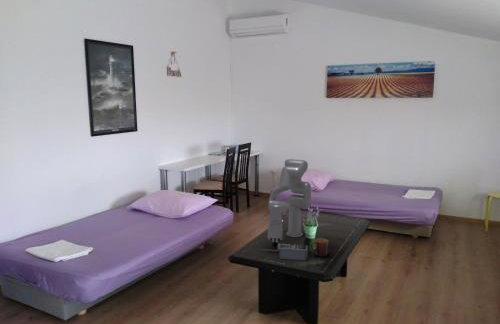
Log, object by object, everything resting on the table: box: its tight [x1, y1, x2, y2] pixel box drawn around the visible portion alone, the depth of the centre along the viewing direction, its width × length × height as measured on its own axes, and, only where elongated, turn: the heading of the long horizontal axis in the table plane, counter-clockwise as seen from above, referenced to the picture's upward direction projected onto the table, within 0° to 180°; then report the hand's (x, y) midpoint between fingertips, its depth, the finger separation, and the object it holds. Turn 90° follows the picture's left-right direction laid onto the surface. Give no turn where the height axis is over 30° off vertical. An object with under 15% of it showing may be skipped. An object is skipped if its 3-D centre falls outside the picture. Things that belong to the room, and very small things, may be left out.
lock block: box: [289, 244, 299, 249], centre depth 266 cm, size 8×6×6 cm
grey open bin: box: [278, 243, 308, 261], centre depth 265 cm, size 12×18×7 cm, turn 80°
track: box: [258, 248, 279, 253], centre depth 276 cm, size 3×14×1 cm, turn 80°
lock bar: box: [277, 242, 295, 251], centre depth 273 cm, size 2×14×6 cm, turn 80°
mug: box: [310, 237, 329, 258], centre depth 266 cm, size 12×9×10 cm
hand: (275, 247), depth 274 cm, fingers closed
